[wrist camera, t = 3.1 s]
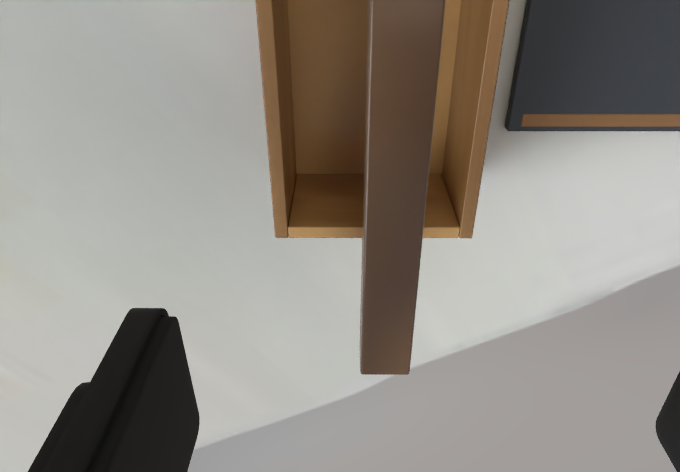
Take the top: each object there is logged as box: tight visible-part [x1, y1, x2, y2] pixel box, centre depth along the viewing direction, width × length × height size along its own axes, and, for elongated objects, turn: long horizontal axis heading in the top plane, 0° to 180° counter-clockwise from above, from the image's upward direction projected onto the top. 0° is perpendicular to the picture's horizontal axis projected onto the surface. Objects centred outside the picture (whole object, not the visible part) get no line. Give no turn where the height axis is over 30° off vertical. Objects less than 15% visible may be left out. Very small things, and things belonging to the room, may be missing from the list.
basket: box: [256, 0, 509, 374], centre depth 20 cm, size 9×12×14 cm
